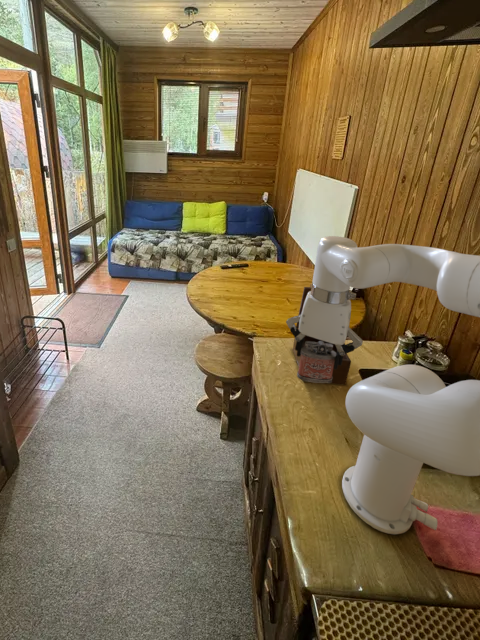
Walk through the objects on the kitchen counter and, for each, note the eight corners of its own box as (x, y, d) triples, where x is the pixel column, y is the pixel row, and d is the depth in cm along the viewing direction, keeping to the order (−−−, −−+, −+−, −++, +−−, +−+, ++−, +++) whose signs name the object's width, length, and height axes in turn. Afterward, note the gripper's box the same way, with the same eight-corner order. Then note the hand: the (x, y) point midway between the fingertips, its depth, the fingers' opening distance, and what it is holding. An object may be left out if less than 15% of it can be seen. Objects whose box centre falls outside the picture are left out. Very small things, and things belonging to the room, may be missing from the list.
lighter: (329, 374, 76) (336, 340, 73) (333, 384, 73) (340, 348, 70) (295, 371, 77) (301, 336, 74) (298, 380, 74) (303, 345, 71)
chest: (345, 385, 93) (351, 361, 90) (302, 381, 94) (307, 357, 91) (329, 352, 108) (333, 331, 105) (292, 349, 109) (296, 328, 106)
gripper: (375, 296, 66) (359, 364, 72) (294, 278, 75) (285, 340, 81) (372, 310, 60) (356, 383, 66) (284, 289, 69) (276, 354, 75)
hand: (317, 359), depth 73 cm, fingers closed on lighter, 7 cm apart
